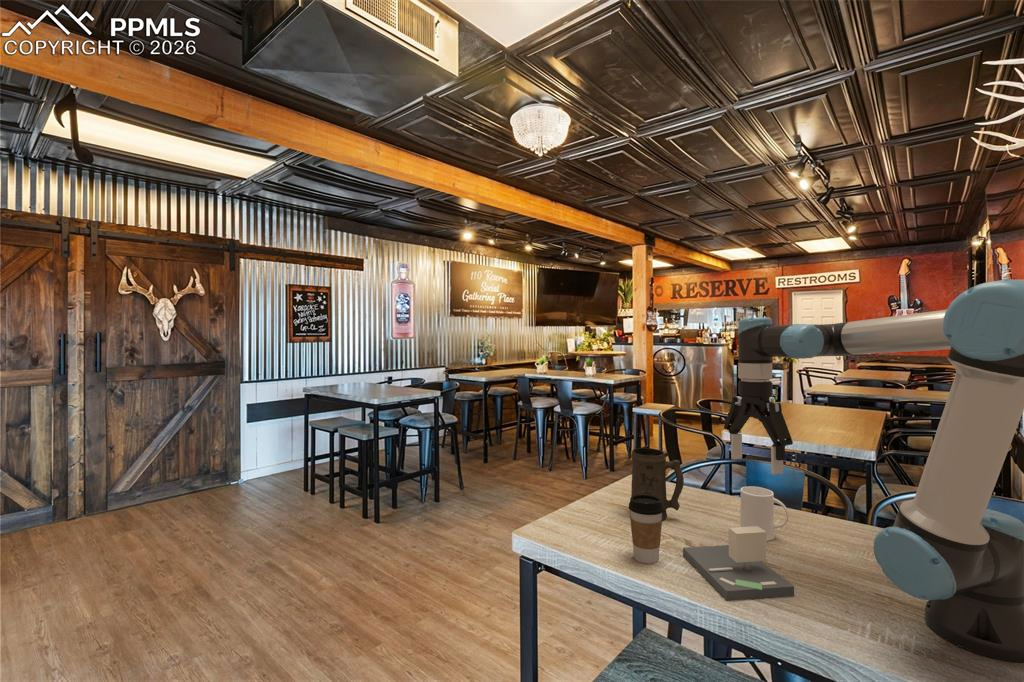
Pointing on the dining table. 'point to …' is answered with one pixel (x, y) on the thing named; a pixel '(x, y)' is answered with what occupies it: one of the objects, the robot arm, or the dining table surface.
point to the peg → (746, 546)
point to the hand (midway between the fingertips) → (755, 465)
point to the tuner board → (737, 575)
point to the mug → (760, 510)
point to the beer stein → (655, 476)
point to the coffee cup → (646, 527)
